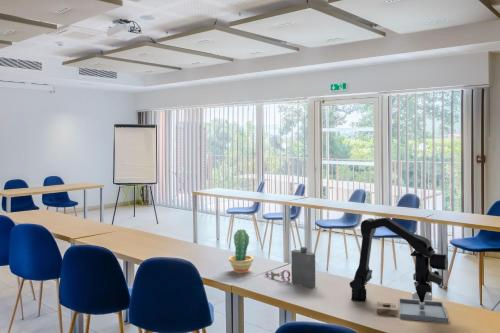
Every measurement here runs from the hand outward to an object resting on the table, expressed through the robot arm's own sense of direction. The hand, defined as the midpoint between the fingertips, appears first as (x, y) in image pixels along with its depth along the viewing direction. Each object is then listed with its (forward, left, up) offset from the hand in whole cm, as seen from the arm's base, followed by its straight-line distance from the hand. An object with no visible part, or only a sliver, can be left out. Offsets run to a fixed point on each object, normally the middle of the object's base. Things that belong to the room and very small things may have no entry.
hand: (421, 301), depth 193 cm
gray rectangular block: (0, 0, -4) cm, 4 cm away
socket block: (-15, -3, -5) cm, 16 cm away
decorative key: (-74, +30, -5) cm, 80 cm away
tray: (0, 0, -5) cm, 5 cm away
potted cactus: (-98, +40, -5) cm, 106 cm away
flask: (-57, +25, -5) cm, 63 cm away
